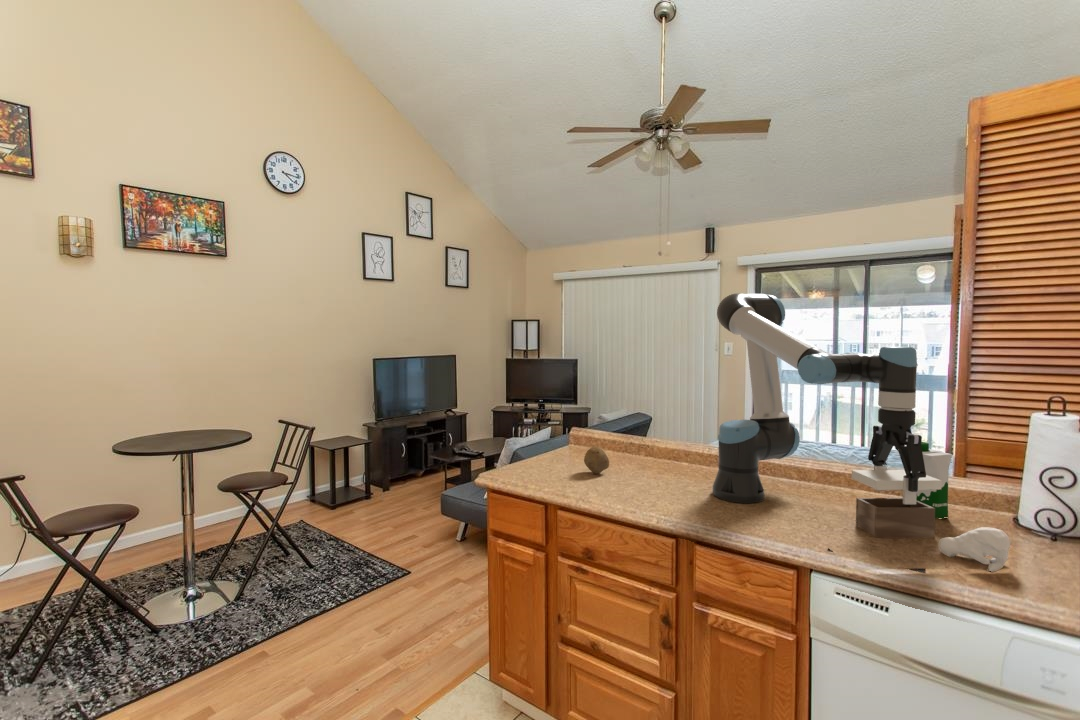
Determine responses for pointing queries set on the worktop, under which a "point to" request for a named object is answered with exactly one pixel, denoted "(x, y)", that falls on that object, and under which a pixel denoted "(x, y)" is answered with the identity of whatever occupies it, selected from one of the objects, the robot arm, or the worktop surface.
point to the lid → (892, 479)
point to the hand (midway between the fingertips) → (894, 496)
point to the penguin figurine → (979, 546)
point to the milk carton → (938, 469)
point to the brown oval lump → (596, 460)
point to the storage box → (895, 518)
